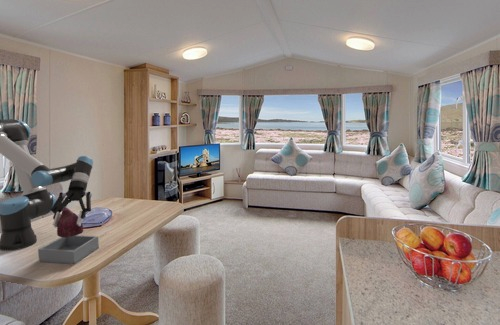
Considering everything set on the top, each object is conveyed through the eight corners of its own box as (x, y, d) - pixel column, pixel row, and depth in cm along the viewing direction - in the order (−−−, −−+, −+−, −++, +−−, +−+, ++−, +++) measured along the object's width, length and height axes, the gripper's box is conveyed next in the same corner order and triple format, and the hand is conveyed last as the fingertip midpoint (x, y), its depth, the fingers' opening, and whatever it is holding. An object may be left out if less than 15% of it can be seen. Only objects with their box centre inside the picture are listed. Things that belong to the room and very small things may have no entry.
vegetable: (72, 244, 130) (66, 216, 124) (52, 239, 132) (46, 211, 126) (89, 230, 139) (84, 204, 133) (70, 226, 141) (65, 199, 135)
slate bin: (39, 262, 129) (38, 249, 128) (67, 245, 146) (66, 234, 145) (74, 264, 127) (73, 251, 126) (98, 247, 144) (98, 236, 143)
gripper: (104, 186, 149) (95, 227, 135) (58, 188, 145) (44, 230, 132) (100, 178, 143) (89, 220, 130) (51, 180, 140) (36, 223, 126)
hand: (66, 225), depth 131 cm, fingers closed on vegetable, 9 cm apart
